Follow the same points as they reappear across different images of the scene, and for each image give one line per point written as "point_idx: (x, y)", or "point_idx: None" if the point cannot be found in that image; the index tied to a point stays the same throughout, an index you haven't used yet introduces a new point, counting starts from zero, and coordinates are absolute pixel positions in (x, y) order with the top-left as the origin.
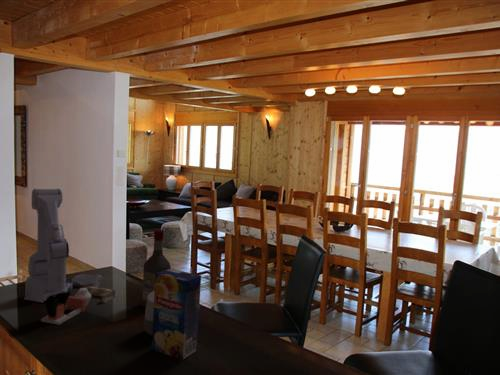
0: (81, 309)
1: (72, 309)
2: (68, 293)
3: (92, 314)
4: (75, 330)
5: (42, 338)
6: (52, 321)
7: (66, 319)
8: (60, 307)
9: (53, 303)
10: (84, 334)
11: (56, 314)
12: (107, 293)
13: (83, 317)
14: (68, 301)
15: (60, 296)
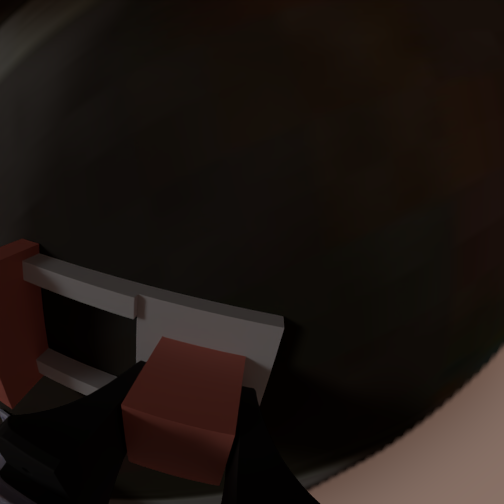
0: (29, 258)
1: (41, 319)
2: (31, 455)
3: (51, 156)
4: (367, 140)
5: (480, 305)
6: (269, 371)
7: (186, 298)
8: (182, 408)
9: (308, 496)
10: (412, 59)
11: (241, 387)
12: None
13: (106, 191)
14: (18, 370)
15: (95, 481)
